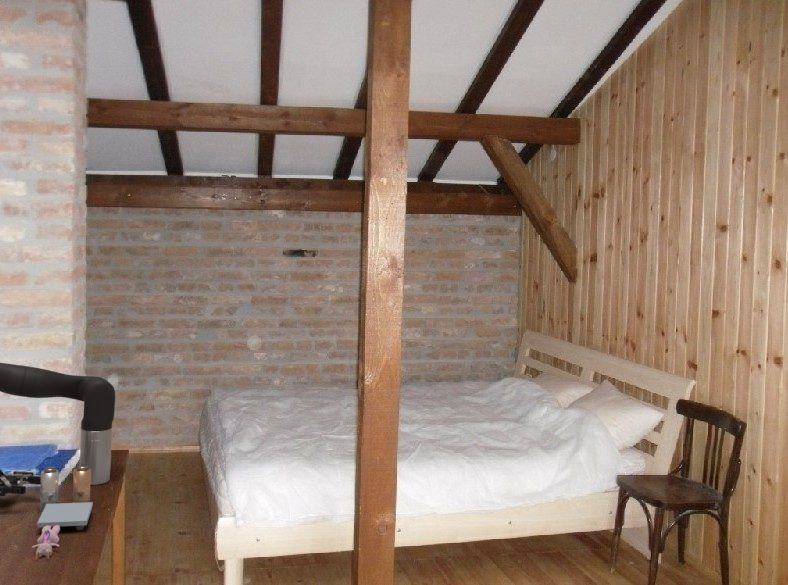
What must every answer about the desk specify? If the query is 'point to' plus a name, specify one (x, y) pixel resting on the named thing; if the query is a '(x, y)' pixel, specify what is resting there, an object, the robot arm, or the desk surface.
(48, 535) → the rabbit figure
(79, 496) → the copper canister
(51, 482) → the steel canister
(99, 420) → the robot arm
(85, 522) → the grey square platform
